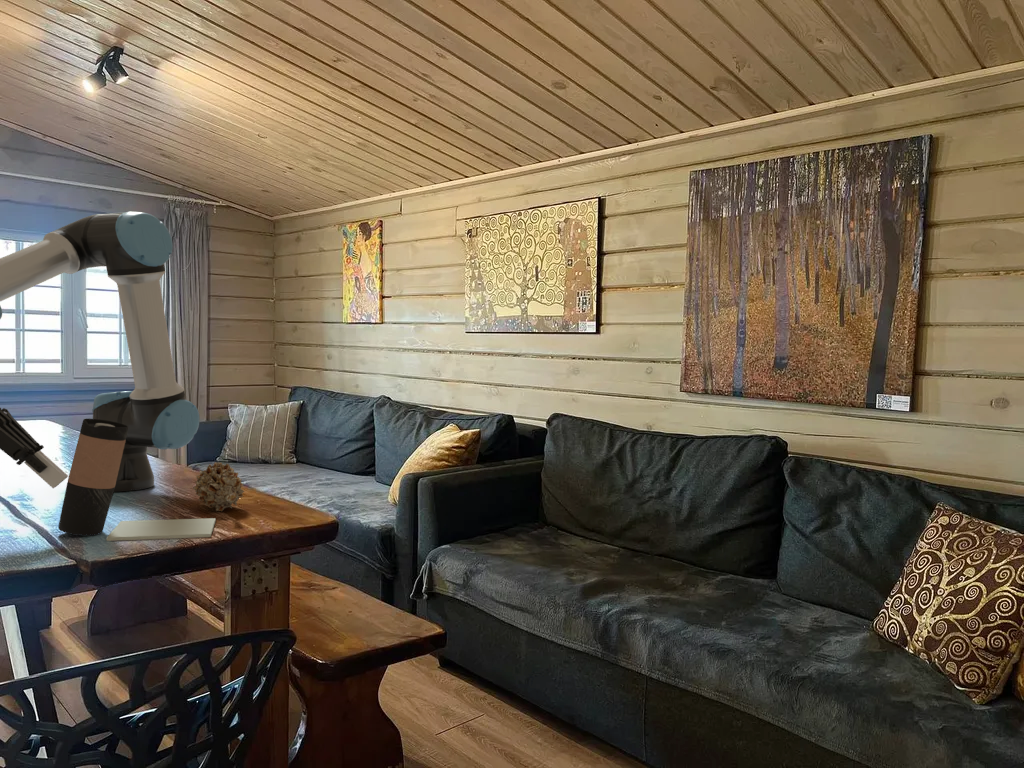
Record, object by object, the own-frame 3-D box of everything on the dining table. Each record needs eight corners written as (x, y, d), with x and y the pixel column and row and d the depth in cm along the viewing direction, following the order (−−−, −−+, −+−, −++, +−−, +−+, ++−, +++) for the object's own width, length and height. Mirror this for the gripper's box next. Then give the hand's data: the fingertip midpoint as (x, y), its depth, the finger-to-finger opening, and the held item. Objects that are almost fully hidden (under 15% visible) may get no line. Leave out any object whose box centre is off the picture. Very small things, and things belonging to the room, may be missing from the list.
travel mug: (100, 525, 139) (124, 422, 139) (107, 537, 133) (133, 429, 133) (53, 522, 134) (79, 416, 135) (59, 534, 128) (86, 423, 129)
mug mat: (106, 540, 129) (106, 537, 129) (120, 524, 142) (120, 521, 142) (210, 536, 135) (210, 533, 135) (215, 521, 147) (215, 518, 147)
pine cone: (185, 504, 161) (186, 459, 161) (230, 500, 167) (231, 457, 166) (214, 525, 143) (215, 475, 143) (263, 520, 149) (264, 471, 149)
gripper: (-48, 398, 132) (54, 490, 137) (-84, 403, 119) (31, 504, 124) (-13, 370, 133) (87, 462, 139) (-45, 372, 120) (67, 473, 126)
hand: (60, 482), depth 131 cm, fingers closed
